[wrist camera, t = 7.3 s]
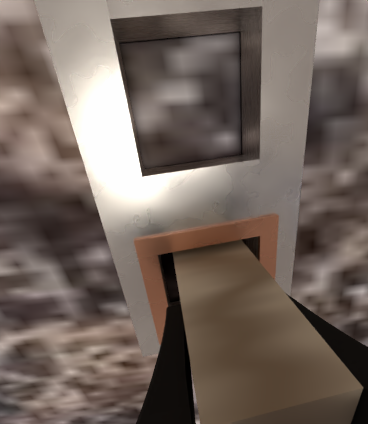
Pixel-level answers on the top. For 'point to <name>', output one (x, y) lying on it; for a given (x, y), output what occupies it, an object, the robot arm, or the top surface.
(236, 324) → the peg
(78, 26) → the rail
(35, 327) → the top surface
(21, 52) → the top surface
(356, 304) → the top surface
